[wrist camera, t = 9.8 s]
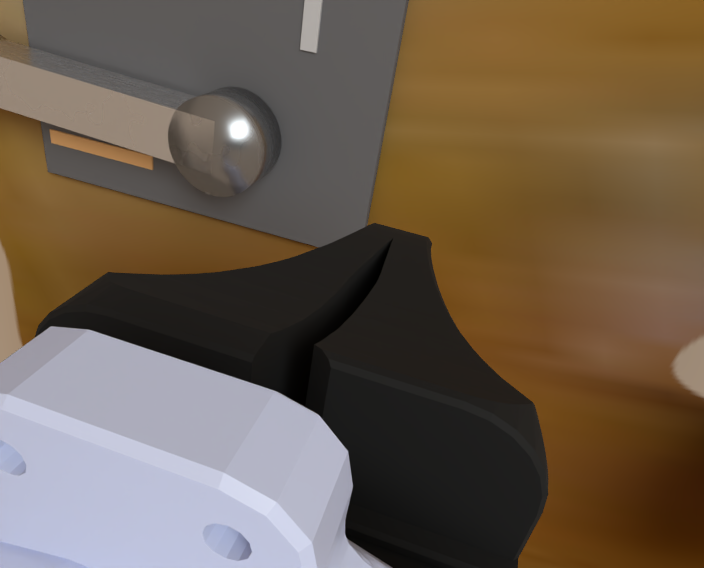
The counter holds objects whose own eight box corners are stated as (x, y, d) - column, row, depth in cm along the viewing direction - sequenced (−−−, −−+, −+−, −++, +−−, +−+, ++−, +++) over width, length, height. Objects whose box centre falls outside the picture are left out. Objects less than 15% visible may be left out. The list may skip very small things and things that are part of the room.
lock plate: (361, 254, 23) (358, 259, 23) (54, 169, 26) (46, 172, 25) (457, -265, 15) (455, -272, 14) (-14, -318, 17) (-28, -325, 17)
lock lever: (287, 100, 20) (260, 115, 18) (275, 191, 22) (249, 212, 20) (-36, 7, 22) (-93, 10, 20) (-21, 97, 24) (-72, 109, 22)
